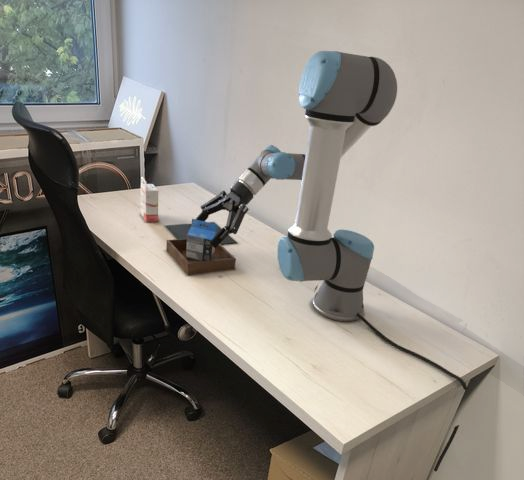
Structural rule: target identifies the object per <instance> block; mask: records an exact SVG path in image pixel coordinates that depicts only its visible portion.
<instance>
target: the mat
mask: <svg viewBox="0 0 524 480" xmlns="http://www.w3.org/2000/svg"><path fill="white" fill-rule="evenodd" d="M209 223H213V224H217V223H216V222H214V221H211V222H209ZM191 224H192V223H182V224H168V225H165V228H167V230H168V231H169V232H170V233H171V234H172V235H173V236H174V237H175V239H184V238H187V234H188V232H189V230H190V227H189V226H190V225H191ZM201 226H203V227H207V228H208V226H206V225H205V224H203V225H201ZM221 229H222V228H221V227H220V226H219V225H218V224H217V231H216V235H217V234H218V232H219V231H220V230H221ZM237 243H238V242H237V241H236V240H235V239H234V238H233V237H232V236H230V234H229V235H228V236H227V237H226V238H225V239H224V240H223V241H222V242H221V243H220V244H221V245H222V246H223V245H231V244H233V245H234V244H237Z"/></svg>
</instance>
